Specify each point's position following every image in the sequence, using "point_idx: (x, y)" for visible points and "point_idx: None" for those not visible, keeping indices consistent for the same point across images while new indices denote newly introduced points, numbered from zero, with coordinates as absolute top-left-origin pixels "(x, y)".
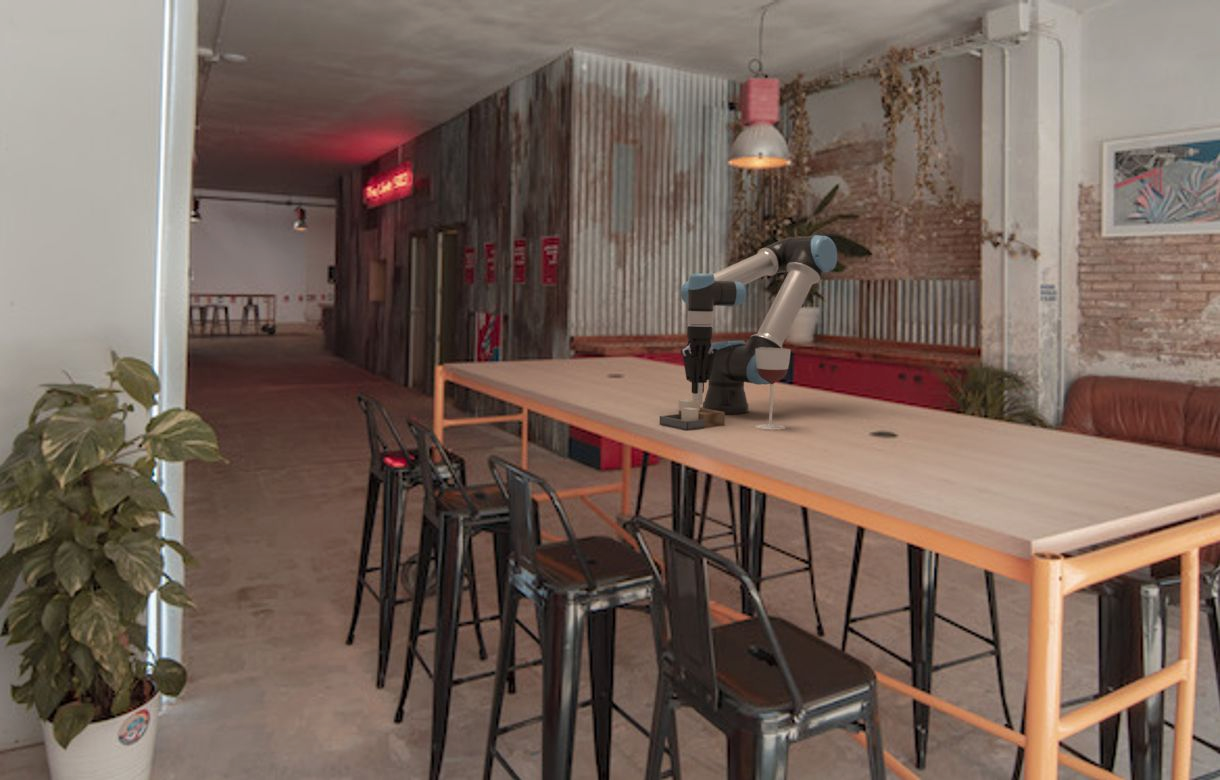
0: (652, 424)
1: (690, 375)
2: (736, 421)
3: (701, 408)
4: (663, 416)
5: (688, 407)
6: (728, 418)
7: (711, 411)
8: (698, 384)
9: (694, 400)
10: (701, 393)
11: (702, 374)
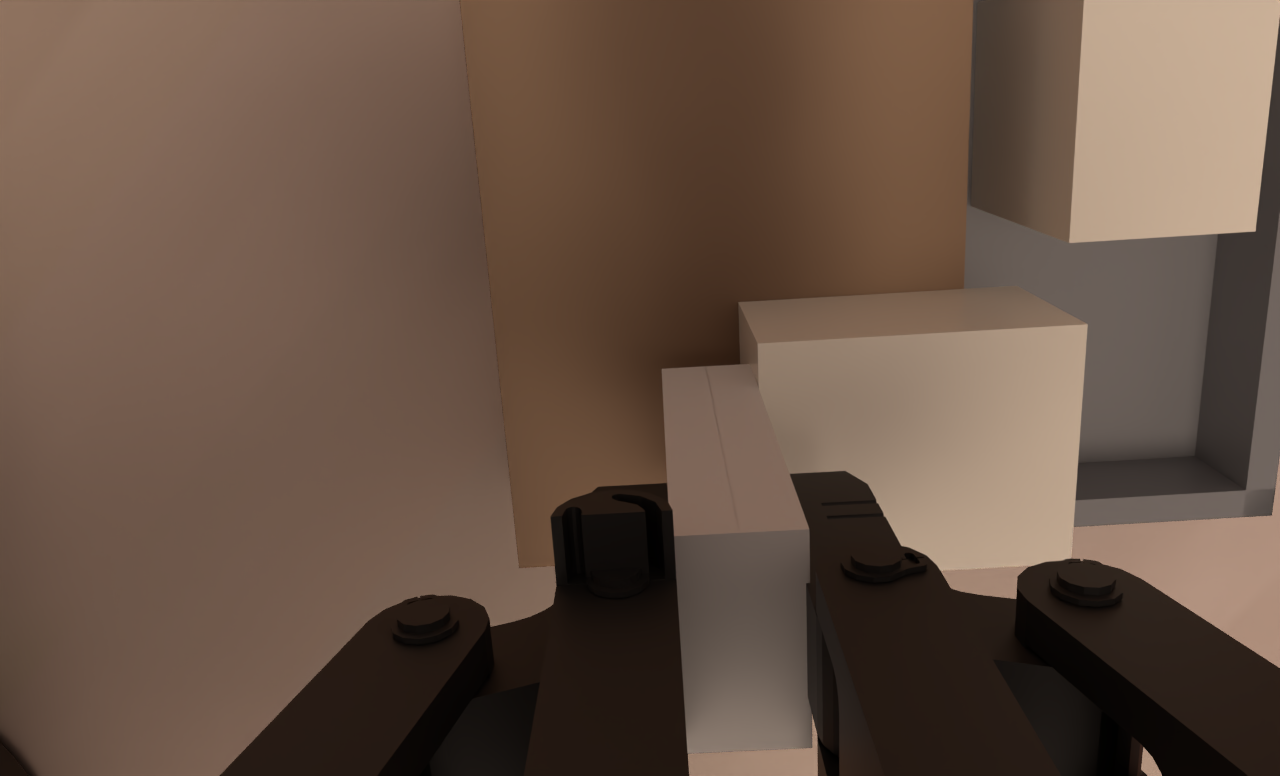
0: (1251, 530)
1: (1250, 676)
2: (111, 174)
3: (558, 473)
4: (1257, 459)
5: (1104, 223)
6: (73, 426)
7: (626, 133)
8: (805, 539)
9: (829, 422)
10: (696, 434)
11: (681, 699)
